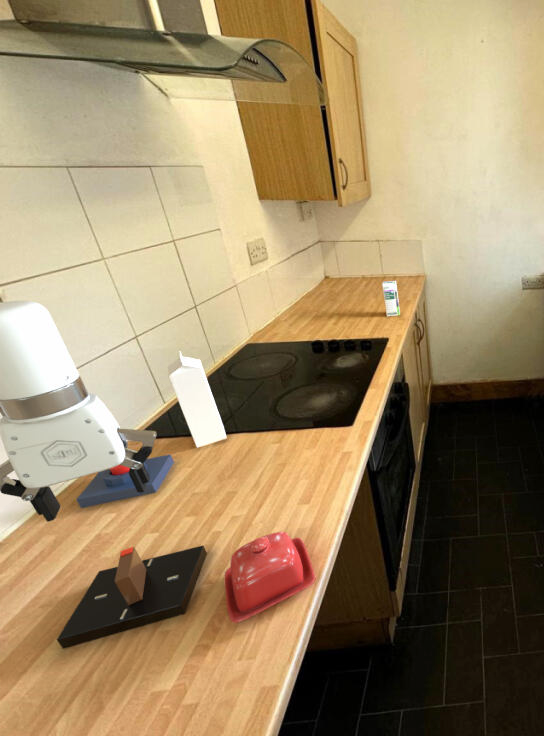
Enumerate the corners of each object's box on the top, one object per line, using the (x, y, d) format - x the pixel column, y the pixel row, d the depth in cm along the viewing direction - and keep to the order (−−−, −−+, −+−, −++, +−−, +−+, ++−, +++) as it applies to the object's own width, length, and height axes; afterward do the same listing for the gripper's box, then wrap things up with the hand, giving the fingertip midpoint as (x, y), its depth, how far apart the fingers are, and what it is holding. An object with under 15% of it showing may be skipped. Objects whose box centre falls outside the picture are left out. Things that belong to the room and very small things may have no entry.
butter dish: (302, 539, 72) (291, 501, 69) (319, 588, 64) (307, 548, 60) (225, 574, 66) (208, 535, 63) (232, 634, 58) (213, 592, 54)
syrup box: (386, 316, 180) (381, 284, 174) (386, 312, 185) (382, 280, 179) (400, 315, 181) (395, 283, 175) (400, 311, 187) (396, 279, 181)
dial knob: (142, 599, 60) (128, 574, 58) (128, 605, 59) (113, 580, 57) (146, 569, 65) (133, 545, 63) (133, 575, 64) (120, 550, 62)
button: (108, 477, 82) (105, 470, 81) (117, 466, 85) (114, 459, 84) (130, 473, 83) (127, 466, 82) (138, 462, 86) (135, 455, 86)
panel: (62, 649, 56) (55, 639, 55) (104, 579, 65) (98, 570, 65) (185, 614, 60) (180, 604, 59) (207, 553, 70) (203, 544, 69)
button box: (80, 508, 79) (71, 492, 78) (107, 475, 88) (99, 460, 86) (156, 492, 83) (148, 476, 81) (174, 462, 92) (168, 447, 90)
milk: (196, 448, 96) (162, 363, 87) (195, 436, 101) (161, 353, 92) (227, 438, 100) (197, 355, 91) (224, 427, 104) (195, 346, 95)
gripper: (-74, 434, 46) (4, 545, 53) (128, 391, 55) (172, 491, 62) (-42, 405, 52) (24, 509, 59) (136, 370, 60) (176, 464, 67)
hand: (100, 500), depth 60 cm, fingers open, 9 cm apart
